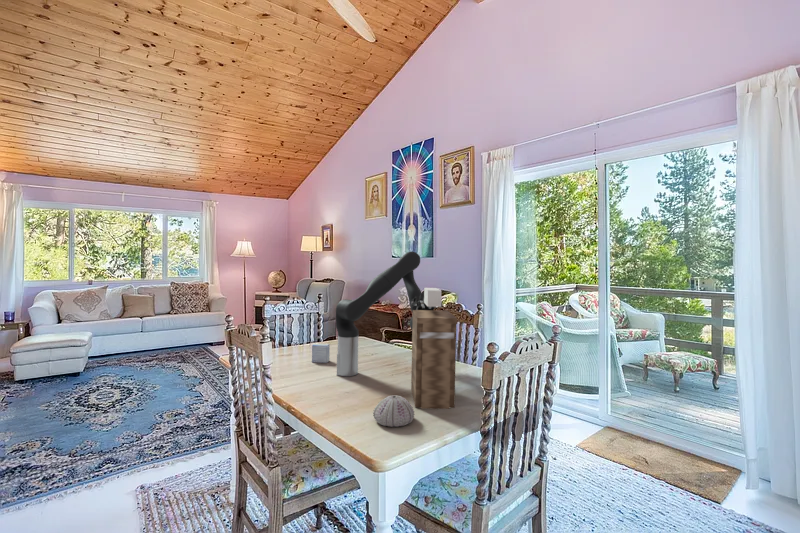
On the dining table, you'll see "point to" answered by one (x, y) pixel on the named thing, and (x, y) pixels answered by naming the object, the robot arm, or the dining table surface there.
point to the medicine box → (320, 353)
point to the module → (432, 297)
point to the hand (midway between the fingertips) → (429, 294)
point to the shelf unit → (433, 359)
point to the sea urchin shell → (394, 411)
